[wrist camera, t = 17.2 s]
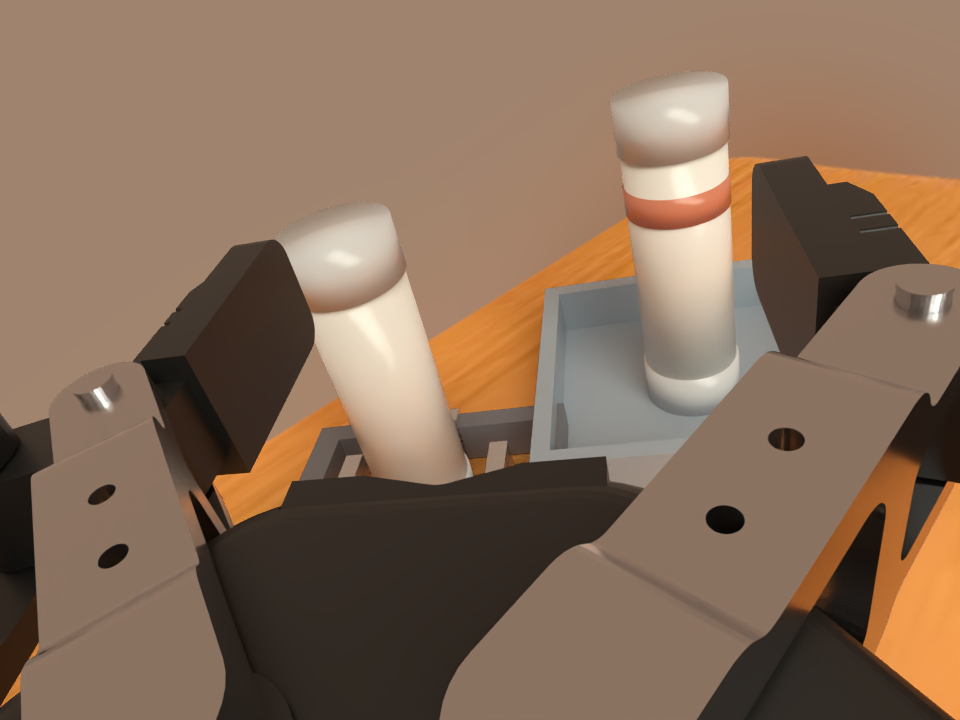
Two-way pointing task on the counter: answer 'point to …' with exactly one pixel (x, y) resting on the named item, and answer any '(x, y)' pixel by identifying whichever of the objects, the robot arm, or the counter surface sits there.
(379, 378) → the fuse
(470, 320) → the counter surface
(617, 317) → the tray
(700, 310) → the banded white cylinder
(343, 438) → the clip holder
